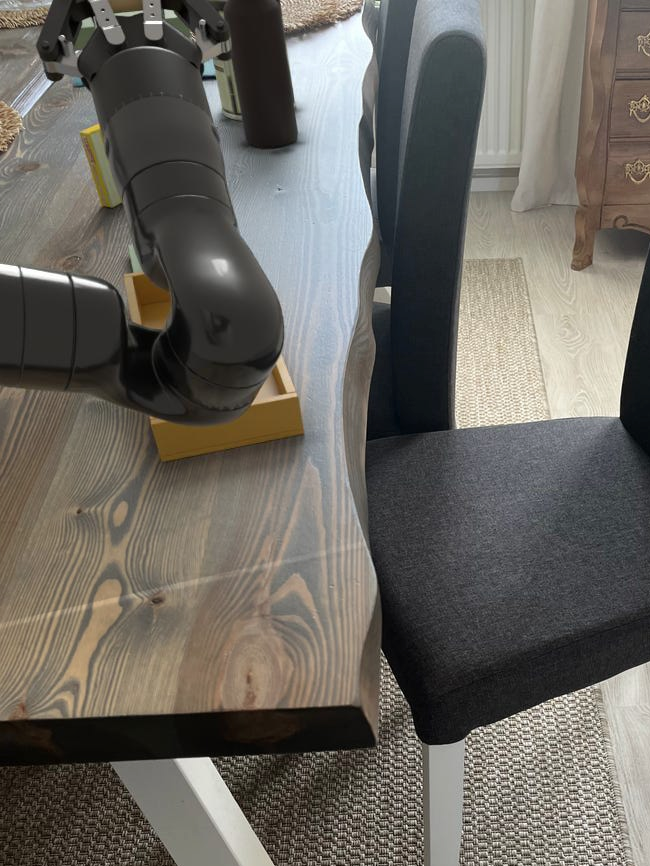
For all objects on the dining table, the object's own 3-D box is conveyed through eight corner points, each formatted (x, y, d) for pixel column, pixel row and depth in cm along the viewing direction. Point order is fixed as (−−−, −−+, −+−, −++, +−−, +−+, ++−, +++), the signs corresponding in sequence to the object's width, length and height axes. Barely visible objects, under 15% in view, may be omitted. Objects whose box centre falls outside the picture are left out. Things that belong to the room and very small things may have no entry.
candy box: (192, 159, 127) (177, 87, 121) (205, 161, 126) (190, 89, 120) (98, 205, 117) (77, 129, 111) (112, 209, 116) (91, 133, 110)
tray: (304, 433, 83) (298, 396, 80) (161, 462, 80) (150, 425, 78) (250, 288, 101) (243, 254, 99) (132, 308, 99) (122, 273, 96)
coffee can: (278, 92, 144) (261, -24, 134) (307, 112, 138) (292, -7, 128) (210, 105, 141) (187, -12, 131) (237, 127, 134) (215, 5, 124)
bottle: (244, 133, 132) (211, -47, 118) (295, 128, 134) (269, -52, 119) (248, 151, 128) (215, -34, 114) (301, 145, 129) (275, -39, 115)
